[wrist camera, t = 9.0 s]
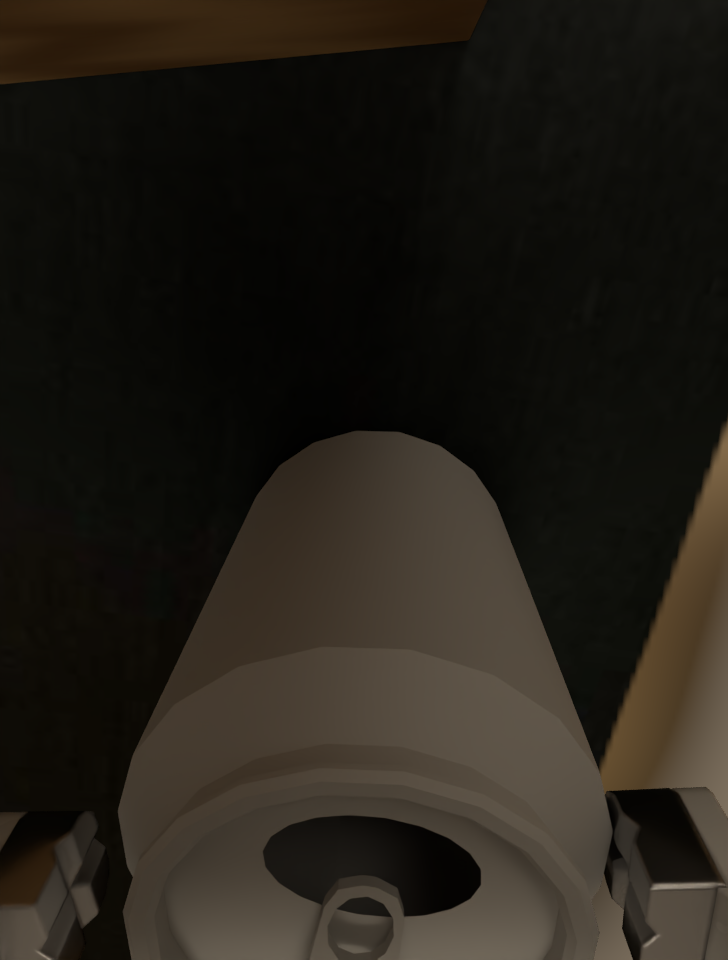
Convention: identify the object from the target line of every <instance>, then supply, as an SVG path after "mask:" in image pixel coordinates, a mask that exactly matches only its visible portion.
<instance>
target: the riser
mask: <svg viewBox="0 0 728 960" xmlns="http://www.w3.org/2000/svg"><path fill="white" fill-rule="evenodd" d="M486 2H487V0H0V84H9V83H19V82H30V81H41V80H51V79H62V78H73V77H83V76H94V75H105V74H116V73H126V72H137V71H148V70H158V69H169V68H180V67H190V66H201V65H212V64H222V63H233V62H244V61H254V60H265V59H276V58H286V57H297V56H308V55H319V54H329V53H340V52H351V51H361V50H372V49H383V48H393V47H404V46H415V45H425V44H436V43H447V42H457V41H467V40H469V39H470V37H471V35H472V33H473V31H474V29H475V26H476V24H477V22H478V20H479V18H480V15H481V13H482V11H483V9H484V7H485V4H486Z"/></svg>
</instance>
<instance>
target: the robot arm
mask: <svg viewBox="0 0 728 960" xmlns="http://www.w3.org/2000/svg"><path fill="white" fill-rule="evenodd" d="M605 799H606V803H607V807H608V812H609V816H610V821H611V825H612V829H613V833H612V838H611V842H610V847H609V852H608V856H607V861H606V865H605V870H604V875H605V879H606V883H607V885H608V888H609V892H610V894H611V897H612V899H613V900H614V901H615V902H616V903H617V904H618V905H620V907H622V908H623V909H624V916H623V927H622V929H623V932H624V935H625V938H626V941H627V944H628V947H629V949H630V952H631V955H632V958H633V960H728V818H727V816H726V814H725V813H724V811H723V810H722V808H721V806H720V804H719V803H718V801H717V799H716V798H715V796H714V794H713V793H712V792H711V791H710V790H709V789H708V788H706V787H696V788H673V789H670V788H662V789H643V790H642V789H641V790H622V791H607V792H606V794H605ZM98 828H99V825H98V822H97V820H96V817H95V814H94V812H90V811H36V812H0V960H79V959H80V957H81V954H82V952H83V949H84V947H85V944H86V941H85V937H84V933H83V929H82V928H83V927H84V926H85V925H86V924H87V923H88V922H90V921H91V920H92V919H93V918H94V917H95V916H96V915H97V914H98V913H99V910H100V907H101V905H102V902H103V900H104V897H105V894H106V889H107V883H108V878H109V858H108V855H107V851H106V848H105V846H103V845H102V844H101V843H100V842H98V841H97V840H96V839H95V838H94V837H95V835H96V833H97V831H98Z"/></svg>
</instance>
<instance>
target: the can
mask: <svg viewBox="0 0 728 960" xmlns="http://www.w3.org/2000/svg"><path fill="white" fill-rule="evenodd" d="M118 815H119V821H120V827H121V833H122V838H123V844H124V850H125V856H126V862H127V866H128V868H129V870H130V872H131V874H132V876H133V880H132V883H131V886H130V890H129V893H128V896H127V900H126V903H125V906H124V910H123V915H124V921H125V926H126V931H127V937H128V942H129V948H130V953H131V959H132V960H593V959H594V955H595V950H596V946H597V942H598V937H599V929H598V925H597V922H596V918H595V914H594V910H593V906H592V902H591V900H592V899H593V897H594V896H595V894H596V893H597V891H598V890H599V888H600V887H601V883H602V878H603V874H604V870H605V865H606V861H607V856H608V852H609V847H610V842H611V838H612V833H613V829H612V825H611V821H610V816H609V812H608V807H607V803H606V799H605V794H604V790H603V785H602V781H601V777H600V773H599V770H598V767H597V765H596V762H595V760H594V757H593V754H592V752H591V749H590V747H589V744H588V741H587V739H586V736H585V734H584V731H583V728H582V726H581V723H580V721H579V718H578V715H577V713H576V710H575V708H574V705H573V702H572V700H571V697H570V695H569V692H568V689H567V687H566V684H565V682H564V679H563V676H562V674H561V671H560V669H559V666H558V663H557V661H556V658H555V656H554V653H553V650H552V648H551V645H550V643H549V640H548V637H547V635H546V632H545V630H544V627H543V624H542V622H541V619H540V617H539V614H538V611H537V609H536V606H535V604H534V601H533V598H532V596H531V593H530V591H529V588H528V585H527V583H526V580H525V577H524V575H523V572H522V570H521V567H520V564H519V562H518V559H517V557H516V554H515V551H514V549H513V546H512V544H511V541H510V538H509V536H508V533H507V531H506V528H505V525H504V523H503V520H502V518H501V515H500V512H499V510H498V507H497V505H496V503H495V501H494V500H493V498H492V497H491V495H490V494H489V492H488V491H487V489H486V488H485V487H484V485H483V484H482V482H481V481H480V479H479V478H478V476H477V475H476V473H475V472H474V471H473V470H472V469H471V468H469V467H468V466H467V465H465V464H464V463H463V462H461V461H460V460H459V459H457V458H456V457H455V456H453V455H452V454H451V453H449V452H448V451H446V450H445V449H444V448H442V447H441V446H439V445H436V444H433V443H430V442H427V441H424V440H421V439H419V438H416V437H413V436H410V435H407V434H404V433H401V432H382V431H353V432H349V433H346V434H342V435H339V436H335V437H332V438H328V439H325V440H321V441H318V442H314V443H312V444H311V445H309V446H308V447H306V448H305V449H303V450H302V451H300V452H299V453H297V454H296V455H295V456H293V457H292V458H290V459H289V460H287V461H286V462H284V463H283V464H281V465H280V466H279V467H278V468H277V470H276V471H275V472H274V474H273V475H272V476H271V478H270V479H269V480H268V481H267V483H266V484H265V485H264V487H263V488H262V489H261V491H260V492H259V493H258V495H257V496H256V498H255V500H254V502H253V504H252V506H251V508H250V510H249V513H248V515H247V517H246V519H245V521H244V523H243V525H242V527H241V529H240V531H239V534H238V536H237V538H236V540H235V542H234V544H233V546H232V548H231V550H230V552H229V555H228V557H227V559H226V561H225V563H224V565H223V567H222V569H221V571H220V573H219V576H218V578H217V580H216V582H215V584H214V586H213V588H212V590H211V592H210V594H209V597H208V599H207V601H206V603H205V605H204V607H203V609H202V611H201V613H200V615H199V618H198V620H197V622H196V624H195V626H194V628H193V630H192V632H191V634H190V636H189V639H188V641H187V643H186V645H185V647H184V649H183V651H182V653H181V655H180V657H179V660H178V662H177V664H176V666H175V668H174V670H173V672H172V674H171V676H170V678H169V681H168V683H167V685H166V687H165V689H164V691H163V693H162V695H161V697H160V699H159V702H158V704H157V706H156V708H155V710H154V712H153V714H152V716H151V718H150V720H149V722H148V725H147V727H146V729H145V731H144V733H143V735H142V737H141V739H140V741H139V743H138V746H137V748H136V750H135V752H134V754H133V757H132V760H131V764H130V768H129V772H128V775H127V779H126V783H125V786H124V790H123V794H122V797H121V801H120V805H119V809H118Z"/></svg>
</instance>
